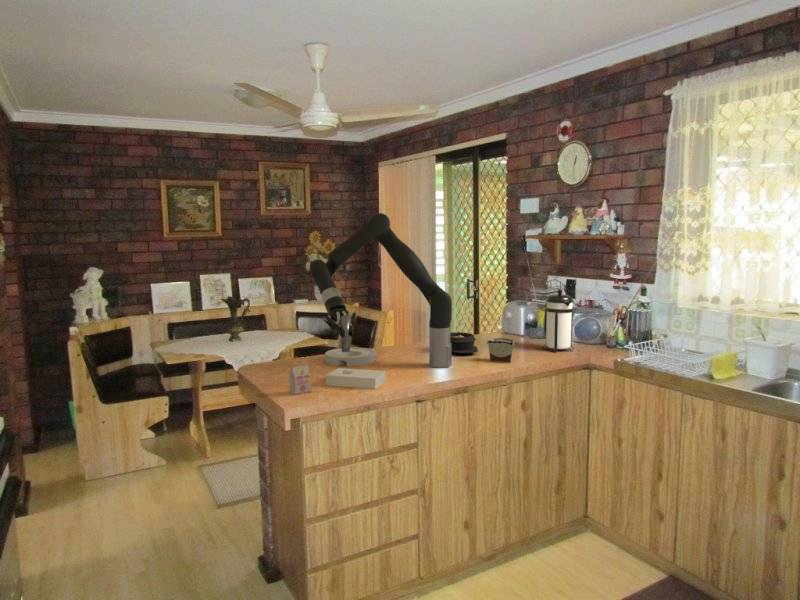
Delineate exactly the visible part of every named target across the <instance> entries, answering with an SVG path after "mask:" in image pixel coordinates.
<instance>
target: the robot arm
mask: <svg viewBox="0 0 800 600" xmlns="http://www.w3.org/2000/svg"><path fill="white" fill-rule="evenodd" d="M375 239H376V241H378V243H379V244H381V246H382V247H383V248H384V249H385V251H386V252H387V253H388V255H389V257H390V258H391V259H392V261H393V262H394V263H395V265H396V266H397V267H398V269H399V270H400V271H401V272H402V273H403V275H404V276H405V277H407V279H408V280H409V281H410V282H411V283H412V284H413V285H415V287H417V289H418V290H419V291H420V292H421V294H422V295H423V296H424V299H426V301H427V303H428V305H429V306H430V309H429V310H430V313H429V315H430V316H429V323H428V324H429V325H428V326H429V328H428V329H429V330H428V331H429V333H428V334H429V336H428V337H429V341H428V343H429V345H428V346H429V347H428V348H429V350H428V352H429V355H428V357H429V359H428V360H429V365H428V366H429V367H431V368H440V369H441V368H443V369H444V368H450V367H451V366H452V358H453V357H452V356H453V355H452V354H453V353H452V344H451V343H450V333H451V324H452V313H453V311H452V310H453V308H452V307H453V304H452V303H453V302H452V297H451V296H450V293H448V292H447V291H445V290H444V289H443V288H441V287H440V286H439V284H438V283H436V281H434V279H433V278H432V277H431V275H430V273H429V271H428V269H427V268H426V266H425V265H424V263H423V262H422V260H421V259H420V257H418V255H417V254H416V253H415V252H414V250H413V249H412V248H410V247H409V246H408V245H407V244H406V243H405V242H403V241H402V240H401V239H400V238H399V237H398V236H397V235H396V234H395V232H394V231H393V229H392V228H391V220H390V217H389V216H388V215H386V214H385V213H382V212H377V213H374V214H372V215H371V216H370V217H369V218H368V219H367V221H366V223H365V224H364V225H363V226H362V227H361V228H360V229H359V230H358V231H357V232H356V233H354V234H353V235H351V236H349V238H347V239H346V240H344V241H342V243H340V244H338V245H337V246H336V247H335V248H334V249H332V250H331V251H330V252H329V253H328V254H327V261H326V262H324V260H322V259H314V260H313V261H311V262H310V264H309V273H310V274H311V277H312V278H313V280H314V282H315V284H316V286H317V288H318V291H319V294H320V296H321V300H322V303H323V305H324V307H325V310H326V312H327V314H326V315H325V316H324V318H323V321H324V322H325V324H327V326H328V327H329V328H330V329H331V330H334V331H335V330H336V331H337V333H338V335H339V337H342V338H344V336H345V333H344V330H343V328H342V327H341V316H342V315H349V327H350V338H352V337H353V336H354V335H355V331H354V327H355V325H356V319H357V317H356V316H357V314H356V313H355V312H352V313H351V312H349V311H348V310H347V307H346V304H345V302H344V300H343V297H342V295H341V292H340V291H339V290H338V287H337V286H336V283H335V281H334V280H333V278H332V277H333V276H334V275H335V273H336V272H337V271H338V270H339V268H340V267H341V266H342V265H344V263H346V262H347V261H349V259H351V258H352V257H353V256H354V255H355V254H356V253H357V252H358V251H360V249H362V248H363V247H365V246H366V245H367V244H368V243H369V242H371V241H372V240H375Z"/></svg>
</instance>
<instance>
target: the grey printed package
mask: <svg viewBox="0 0 800 600" xmlns="http://www.w3.org/2000/svg"><path fill="white" fill-rule="evenodd" d="M288 380H289V381H288V382H289V383H288V386H289V387H288V390H289V394H290V395H292V396H298V395H303V394H308V393H311V392H312V389H311V386H312V385H311V374H310V368H309V365H308V364H304V365H298V366H291V367H290V372H289V375H288Z"/></svg>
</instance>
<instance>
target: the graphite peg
mask: <svg viewBox="0 0 800 600" xmlns="http://www.w3.org/2000/svg"><path fill="white" fill-rule="evenodd" d="M349 320H350V318H349V315H342V316H341V327H342V328H343V330H344V333H345V336H344V338H342V337H341V338H340V339H341V340H340V341H341V348H342V352H350V348H351V344H350V343H351V341H350V339H351V337H350V327H349Z"/></svg>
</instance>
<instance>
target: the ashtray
mask: <svg viewBox="0 0 800 600" xmlns="http://www.w3.org/2000/svg"><path fill="white" fill-rule="evenodd" d="M324 354H325V355H324V356H325V357H324V359H325V363H326V364H328V365H331V366H336V367H337V366H340V367H341V366H346V367H359V366H366V365H370V364H374V362H375V361H376V360H377V359H376V358H377V353H376V351H375V350H374V349H372V348H371V349H370V348H368V347H367V348H366V347H350V352H342V347H340V348H334V349H329V350H327V351H325V353H324Z"/></svg>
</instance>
